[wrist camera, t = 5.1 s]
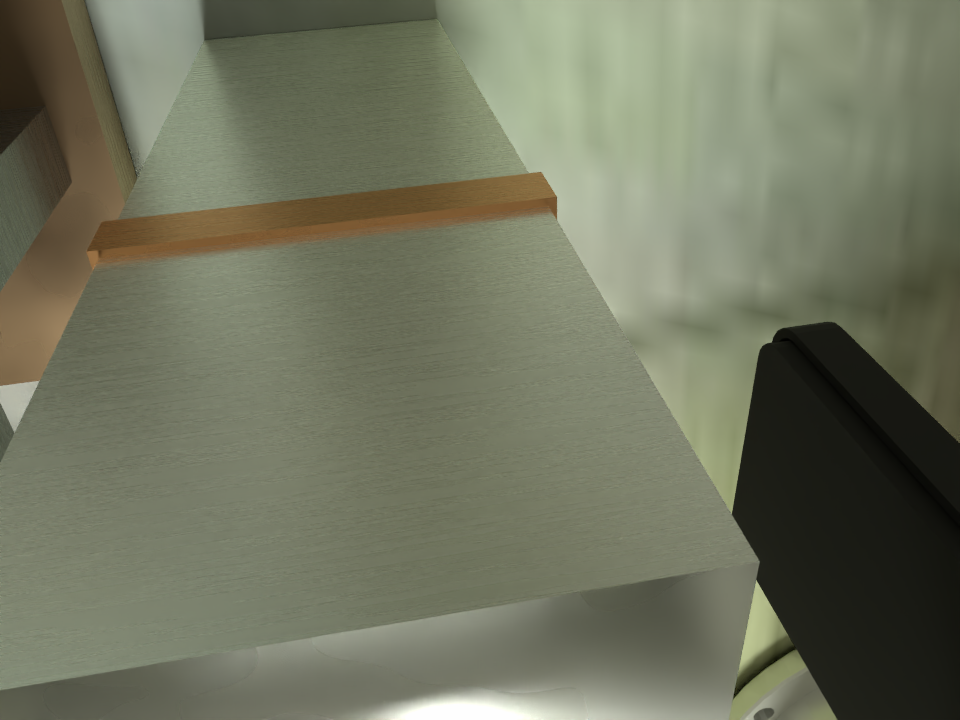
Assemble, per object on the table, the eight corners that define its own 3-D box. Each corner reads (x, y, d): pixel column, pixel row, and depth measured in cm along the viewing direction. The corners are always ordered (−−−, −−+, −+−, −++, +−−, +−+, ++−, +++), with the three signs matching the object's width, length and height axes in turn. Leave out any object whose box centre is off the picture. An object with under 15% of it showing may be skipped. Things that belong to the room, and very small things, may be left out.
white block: (441, 13, 18) (776, 546, 5) (457, 231, 21) (696, 932, 8) (198, 35, 18) (-147, 702, 4) (249, 255, 20) (131, 1055, 7)
